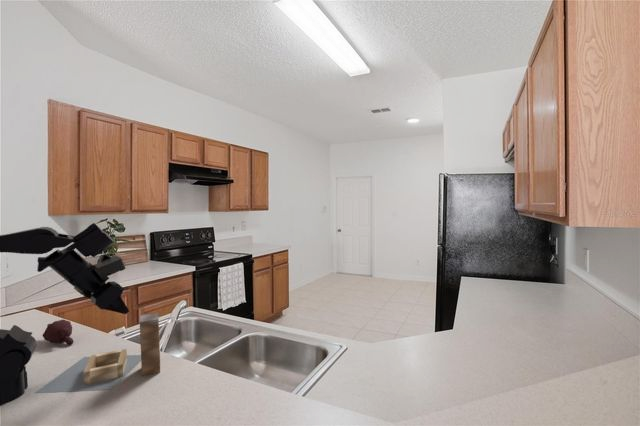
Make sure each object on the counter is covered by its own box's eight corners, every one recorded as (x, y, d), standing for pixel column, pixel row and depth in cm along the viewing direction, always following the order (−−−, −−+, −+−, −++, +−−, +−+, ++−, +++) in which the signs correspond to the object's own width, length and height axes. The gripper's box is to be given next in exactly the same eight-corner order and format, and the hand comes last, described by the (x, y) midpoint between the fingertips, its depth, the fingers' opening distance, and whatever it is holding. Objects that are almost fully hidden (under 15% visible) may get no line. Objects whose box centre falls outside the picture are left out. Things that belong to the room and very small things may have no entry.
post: (142, 380, 76) (139, 322, 76) (143, 370, 81) (140, 315, 80) (160, 376, 78) (158, 319, 78) (160, 366, 83) (158, 312, 82)
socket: (83, 384, 73) (83, 372, 73) (91, 366, 81) (90, 355, 81) (123, 375, 77) (122, 364, 77) (127, 359, 85) (126, 348, 85)
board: (112, 393, 71) (112, 389, 71) (34, 397, 71) (34, 392, 70) (147, 358, 87) (147, 354, 87) (84, 360, 86) (84, 356, 86)
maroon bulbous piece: (30, 322, 98) (51, 336, 91) (58, 309, 104) (79, 321, 97) (37, 340, 100) (58, 355, 93) (64, 326, 106) (86, 340, 99)
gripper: (118, 251, 74) (160, 292, 83) (93, 242, 86) (132, 278, 94) (74, 287, 68) (124, 327, 76) (53, 272, 80) (99, 308, 88)
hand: (120, 308), depth 84 cm, fingers open, 9 cm apart
